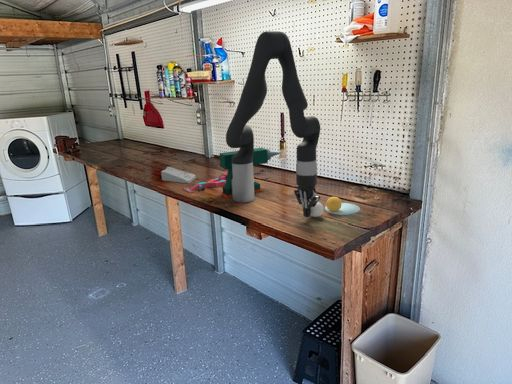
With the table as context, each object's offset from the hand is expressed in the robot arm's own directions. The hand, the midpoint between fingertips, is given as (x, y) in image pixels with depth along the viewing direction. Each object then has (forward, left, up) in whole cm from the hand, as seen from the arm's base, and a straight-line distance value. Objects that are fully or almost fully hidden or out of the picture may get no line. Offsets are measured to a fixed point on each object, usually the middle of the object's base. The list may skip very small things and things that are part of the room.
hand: (306, 216), depth 143 cm
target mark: (+4, +19, -2) cm, 19 cm away
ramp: (-96, +10, -2) cm, 96 cm away
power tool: (-44, +17, -2) cm, 47 cm away
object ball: (+3, +14, +2) cm, 15 cm away
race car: (-68, +9, -2) cm, 69 cm away
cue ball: (0, +5, +2) cm, 5 cm away
